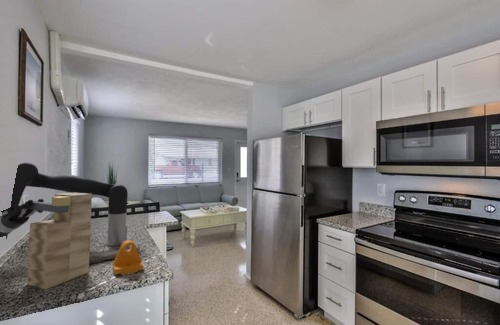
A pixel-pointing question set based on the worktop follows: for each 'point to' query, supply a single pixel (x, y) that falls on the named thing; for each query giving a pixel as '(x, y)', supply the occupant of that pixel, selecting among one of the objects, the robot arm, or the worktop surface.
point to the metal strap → (53, 205)
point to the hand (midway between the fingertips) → (37, 201)
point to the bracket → (127, 259)
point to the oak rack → (61, 244)
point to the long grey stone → (104, 255)
